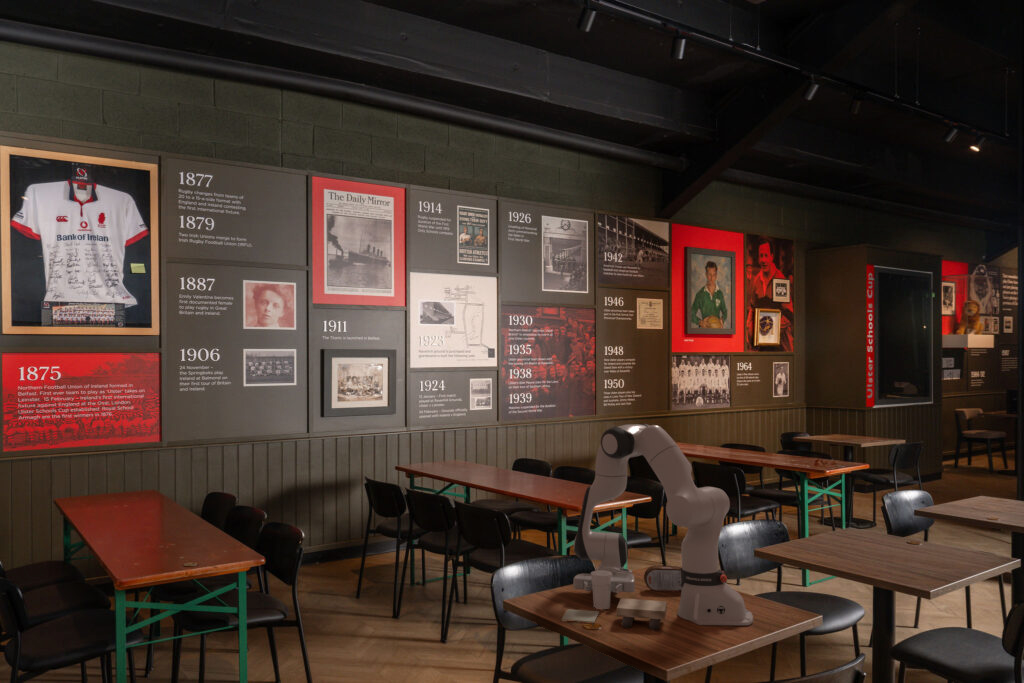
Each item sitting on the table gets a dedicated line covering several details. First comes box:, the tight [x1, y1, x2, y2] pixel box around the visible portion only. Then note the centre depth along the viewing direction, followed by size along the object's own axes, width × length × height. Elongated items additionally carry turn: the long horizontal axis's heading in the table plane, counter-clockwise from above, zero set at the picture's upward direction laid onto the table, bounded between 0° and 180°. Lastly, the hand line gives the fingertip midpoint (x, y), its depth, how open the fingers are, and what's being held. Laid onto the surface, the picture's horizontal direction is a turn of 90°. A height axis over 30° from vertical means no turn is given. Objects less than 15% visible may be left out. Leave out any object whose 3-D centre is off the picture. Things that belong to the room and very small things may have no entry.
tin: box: [643, 565, 682, 592], centre depth 259 cm, size 15×3×8 cm, turn 84°
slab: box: [616, 597, 668, 631], centre depth 226 cm, size 14×12×5 cm
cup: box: [590, 570, 612, 610], centre depth 241 cm, size 7×7×11 cm
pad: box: [561, 608, 600, 624], centre depth 231 cm, size 10×10×1 cm
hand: (601, 589), depth 240 cm, fingers open, 8 cm apart
